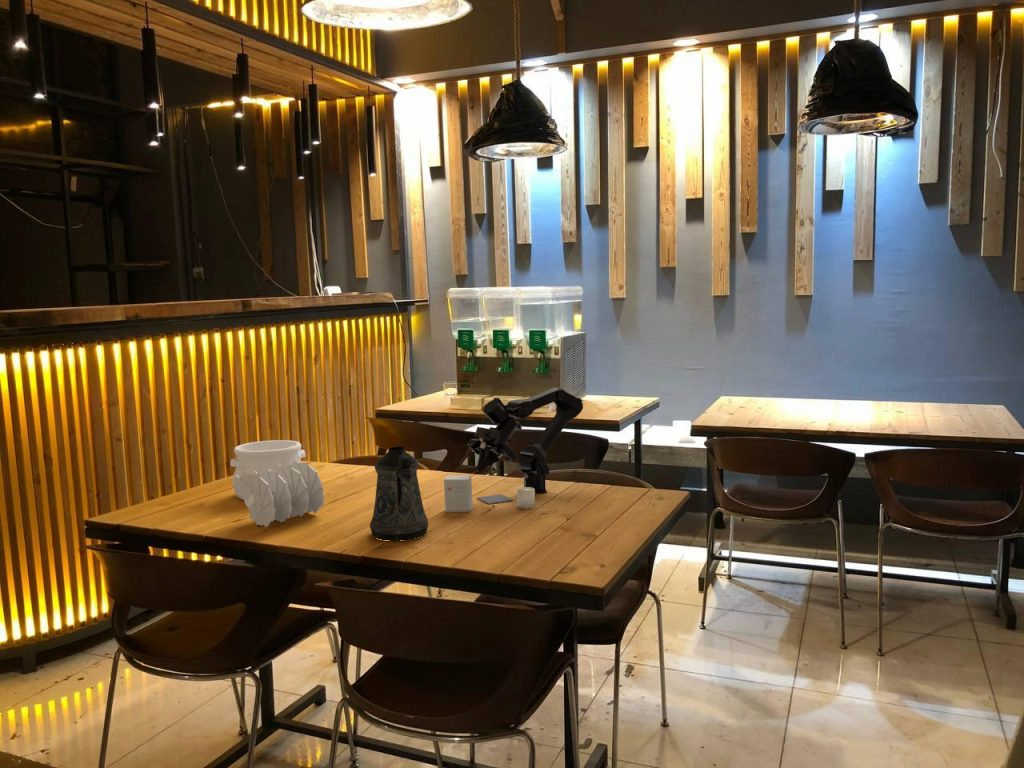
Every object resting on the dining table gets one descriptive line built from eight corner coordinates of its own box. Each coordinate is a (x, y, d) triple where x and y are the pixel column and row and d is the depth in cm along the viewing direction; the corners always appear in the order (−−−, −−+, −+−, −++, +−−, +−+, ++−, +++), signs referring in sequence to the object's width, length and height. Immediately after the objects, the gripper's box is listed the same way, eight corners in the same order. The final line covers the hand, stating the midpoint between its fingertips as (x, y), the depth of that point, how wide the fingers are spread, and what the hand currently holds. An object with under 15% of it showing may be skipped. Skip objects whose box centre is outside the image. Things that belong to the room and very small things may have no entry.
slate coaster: (501, 495, 278) (501, 494, 278) (513, 500, 270) (513, 499, 270) (477, 498, 274) (477, 497, 274) (488, 504, 266) (488, 503, 266)
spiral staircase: (324, 525, 261) (258, 541, 241) (291, 495, 270) (224, 508, 250) (341, 476, 256) (274, 489, 235) (306, 447, 264) (240, 457, 244)
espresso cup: (530, 502, 268) (529, 485, 268) (537, 507, 261) (536, 490, 260) (513, 503, 267) (513, 486, 266) (520, 509, 259) (519, 491, 259)
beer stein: (401, 522, 248) (397, 440, 245) (448, 533, 235) (445, 446, 233) (358, 536, 235) (354, 449, 232) (405, 548, 223) (401, 456, 220)
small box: (472, 507, 263) (471, 475, 262) (470, 512, 258) (469, 479, 257) (448, 507, 264) (446, 475, 263) (444, 512, 259) (443, 479, 257)
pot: (292, 483, 305) (289, 436, 303) (320, 495, 285) (318, 445, 283) (221, 495, 289) (218, 445, 287) (246, 508, 270) (243, 455, 268)
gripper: (470, 414, 274) (445, 452, 268) (507, 420, 260) (481, 460, 254) (489, 435, 280) (465, 472, 274) (527, 441, 266) (501, 480, 260)
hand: (477, 470), depth 265 cm, fingers closed
